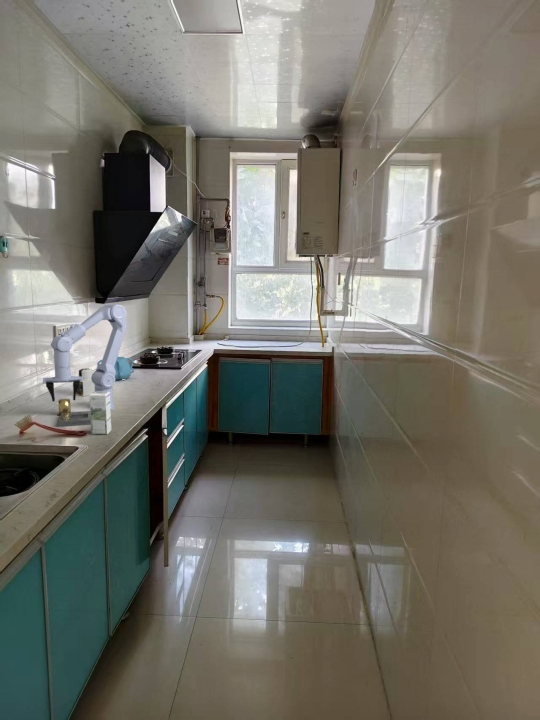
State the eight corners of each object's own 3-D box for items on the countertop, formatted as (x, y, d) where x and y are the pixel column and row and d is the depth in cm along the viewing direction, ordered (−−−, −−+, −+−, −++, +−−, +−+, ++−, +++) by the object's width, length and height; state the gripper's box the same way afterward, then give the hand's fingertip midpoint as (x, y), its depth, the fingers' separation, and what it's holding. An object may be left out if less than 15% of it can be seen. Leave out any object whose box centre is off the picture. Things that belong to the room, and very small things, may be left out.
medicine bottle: (75, 394, 240) (74, 369, 238) (89, 391, 245) (88, 367, 243) (83, 396, 235) (81, 371, 233) (97, 394, 240) (96, 369, 238)
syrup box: (111, 430, 185) (110, 390, 183) (107, 434, 179) (105, 394, 177) (95, 429, 185) (94, 390, 182) (90, 434, 179) (89, 394, 177)
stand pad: (57, 413, 205) (57, 413, 205) (73, 412, 207) (73, 412, 207) (56, 417, 200) (56, 416, 200) (72, 416, 202) (72, 415, 202)
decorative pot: (112, 375, 285) (111, 351, 283) (137, 377, 280) (136, 353, 278) (94, 381, 270) (92, 355, 268) (119, 383, 265) (118, 357, 263)
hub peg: (59, 413, 205) (58, 398, 204) (71, 412, 206) (70, 398, 205) (58, 416, 201) (57, 401, 200) (70, 415, 202) (69, 400, 201)
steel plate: (61, 417, 200) (61, 412, 200) (99, 415, 204) (99, 410, 204) (58, 427, 187) (58, 422, 186) (98, 424, 191) (98, 419, 191)
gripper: (82, 364, 206) (83, 397, 208) (43, 365, 202) (45, 399, 204) (81, 367, 200) (83, 401, 202) (41, 368, 195) (43, 403, 197)
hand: (64, 400), depth 203 cm, fingers open, 7 cm apart
